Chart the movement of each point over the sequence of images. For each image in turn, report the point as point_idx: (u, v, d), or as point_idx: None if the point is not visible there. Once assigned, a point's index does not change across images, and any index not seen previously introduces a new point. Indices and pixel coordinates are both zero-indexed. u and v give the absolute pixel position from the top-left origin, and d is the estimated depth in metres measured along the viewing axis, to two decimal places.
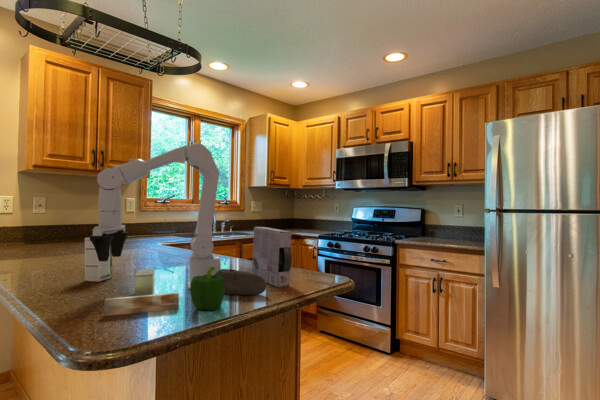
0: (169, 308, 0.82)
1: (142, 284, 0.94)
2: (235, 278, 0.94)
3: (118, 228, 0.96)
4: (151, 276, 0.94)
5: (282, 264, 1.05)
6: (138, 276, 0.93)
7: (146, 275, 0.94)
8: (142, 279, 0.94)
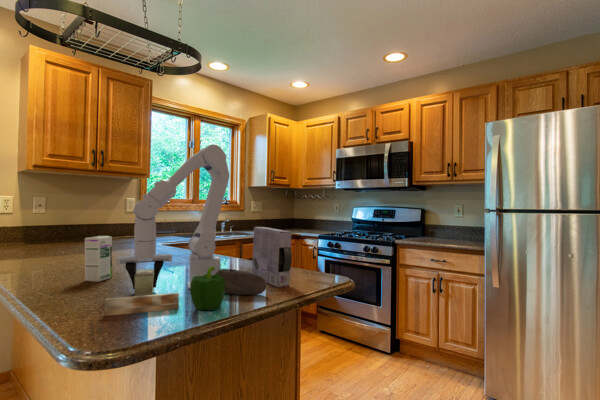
0: (169, 308, 0.82)
1: (142, 284, 0.94)
2: (235, 278, 0.94)
3: (139, 259, 0.94)
4: (151, 276, 0.94)
5: (282, 264, 1.05)
6: (138, 276, 0.93)
7: (146, 275, 0.94)
8: (142, 279, 0.94)
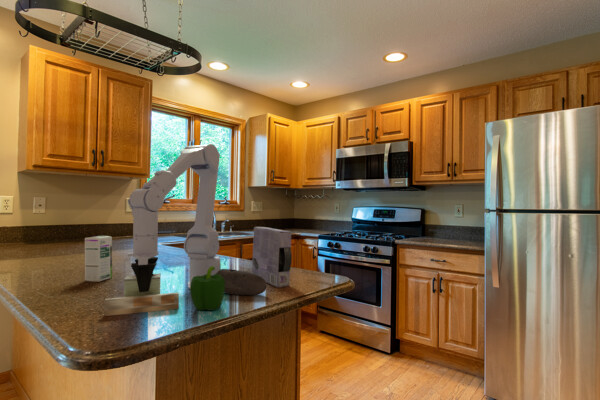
0: (169, 308, 0.82)
1: None
2: (235, 278, 0.94)
3: (157, 254, 0.86)
4: (160, 275, 0.89)
5: (282, 264, 1.05)
6: None
7: (160, 275, 0.88)
8: None
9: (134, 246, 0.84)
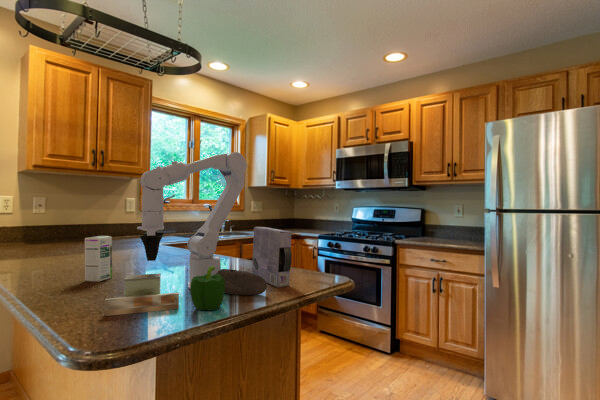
0: (169, 308, 0.82)
1: None
2: (235, 278, 0.94)
3: (163, 228, 0.97)
4: (160, 275, 0.89)
5: (282, 264, 1.05)
6: None
7: (160, 275, 0.88)
8: None
9: (143, 220, 0.95)
